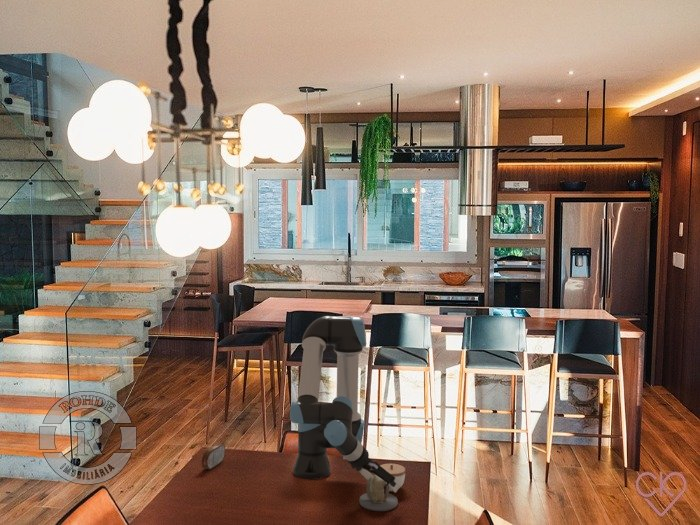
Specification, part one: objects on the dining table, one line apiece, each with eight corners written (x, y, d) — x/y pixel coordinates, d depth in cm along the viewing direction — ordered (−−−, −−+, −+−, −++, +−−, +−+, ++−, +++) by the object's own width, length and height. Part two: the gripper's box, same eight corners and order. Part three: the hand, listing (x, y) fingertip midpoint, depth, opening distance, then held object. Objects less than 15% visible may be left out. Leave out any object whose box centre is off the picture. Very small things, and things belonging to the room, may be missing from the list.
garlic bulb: (370, 510, 236) (363, 487, 233) (366, 497, 244) (359, 474, 241) (395, 502, 237) (388, 478, 234) (390, 488, 245) (383, 466, 242)
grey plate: (351, 501, 240) (351, 498, 240) (378, 491, 249) (378, 488, 249) (378, 514, 230) (378, 511, 230) (405, 503, 239) (405, 500, 239)
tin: (220, 459, 280) (220, 440, 279) (226, 460, 279) (226, 441, 278) (200, 471, 266) (200, 451, 265) (207, 472, 265) (207, 452, 264)
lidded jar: (403, 495, 247) (403, 470, 246) (375, 492, 249) (375, 468, 248) (406, 484, 257) (407, 460, 257) (379, 481, 260) (380, 458, 259)
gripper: (325, 452, 237) (354, 481, 248) (374, 472, 219) (403, 503, 230) (336, 434, 240) (364, 464, 251) (385, 453, 222) (413, 484, 233)
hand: (383, 483), depth 241 cm, fingers open, 13 cm apart
